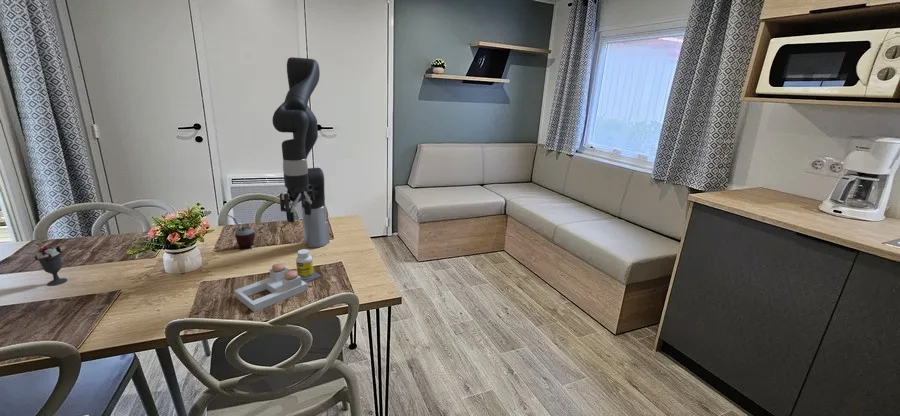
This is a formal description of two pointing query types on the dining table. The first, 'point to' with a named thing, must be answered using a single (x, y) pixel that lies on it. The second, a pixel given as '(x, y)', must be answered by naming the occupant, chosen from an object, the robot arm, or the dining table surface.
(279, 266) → the plunger
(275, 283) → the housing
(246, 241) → the mate gourd
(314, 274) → the pad
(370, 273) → the dining table surface
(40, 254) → the sundae
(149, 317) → the dining table surface
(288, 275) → the plunger
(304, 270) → the supplement bottle
